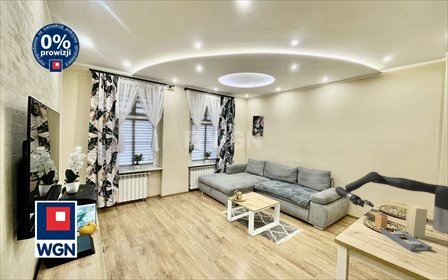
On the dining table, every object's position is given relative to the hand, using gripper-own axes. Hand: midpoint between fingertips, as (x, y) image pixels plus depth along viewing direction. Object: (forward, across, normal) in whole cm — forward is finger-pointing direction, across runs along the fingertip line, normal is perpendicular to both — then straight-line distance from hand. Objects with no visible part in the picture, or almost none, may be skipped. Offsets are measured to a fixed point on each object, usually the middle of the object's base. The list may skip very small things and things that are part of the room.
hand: (368, 206), depth 150 cm
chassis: (+29, 0, +11) cm, 31 cm away
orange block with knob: (+12, 0, +11) cm, 16 cm away
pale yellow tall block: (+22, +16, +11) cm, 30 cm away
